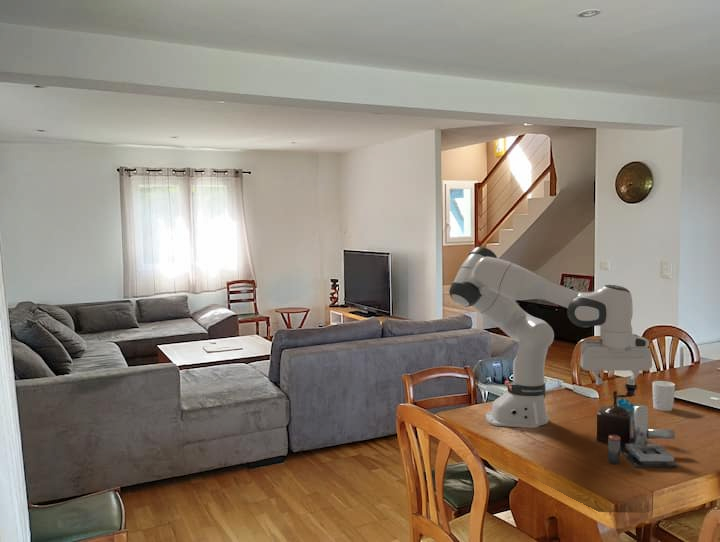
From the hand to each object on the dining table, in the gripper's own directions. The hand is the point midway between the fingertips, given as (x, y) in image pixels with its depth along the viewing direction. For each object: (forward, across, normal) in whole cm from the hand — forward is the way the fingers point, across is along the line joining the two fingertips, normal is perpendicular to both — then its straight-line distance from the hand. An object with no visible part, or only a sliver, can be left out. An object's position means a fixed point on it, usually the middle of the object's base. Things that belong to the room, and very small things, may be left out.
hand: (615, 384), depth 180 cm
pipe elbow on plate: (+24, +13, +4) cm, 28 cm away
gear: (+24, +20, +39) cm, 50 cm away
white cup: (+24, +38, +53) cm, 70 cm away
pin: (+24, 0, 0) cm, 24 cm away
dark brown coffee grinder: (+24, +9, +22) cm, 34 cm away
